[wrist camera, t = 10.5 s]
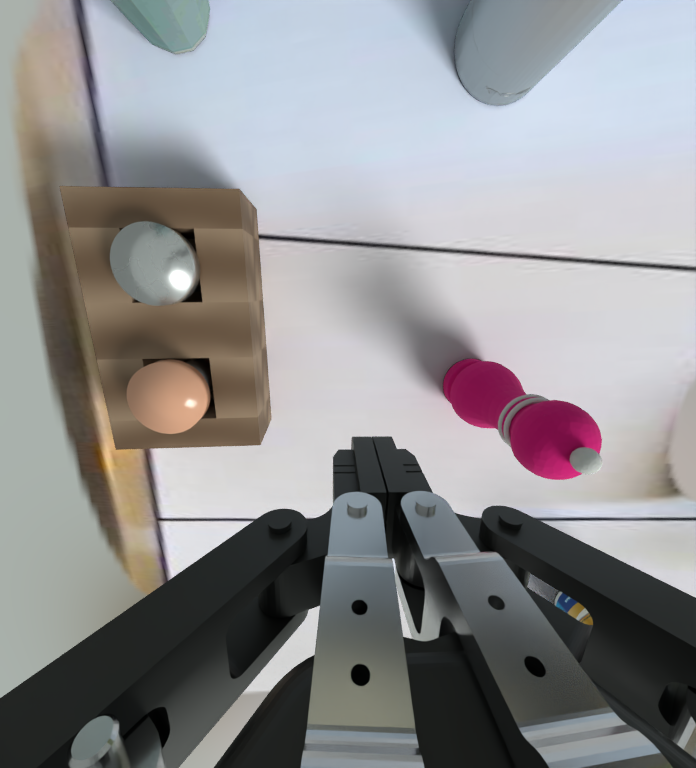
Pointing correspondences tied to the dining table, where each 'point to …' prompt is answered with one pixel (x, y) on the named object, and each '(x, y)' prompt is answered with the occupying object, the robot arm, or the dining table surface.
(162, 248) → the steel plunger
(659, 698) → the robot arm
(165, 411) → the terracotta plunger
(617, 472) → the dining table surface
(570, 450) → the pepper mill
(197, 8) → the disposable coffee cup
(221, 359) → the button panel
